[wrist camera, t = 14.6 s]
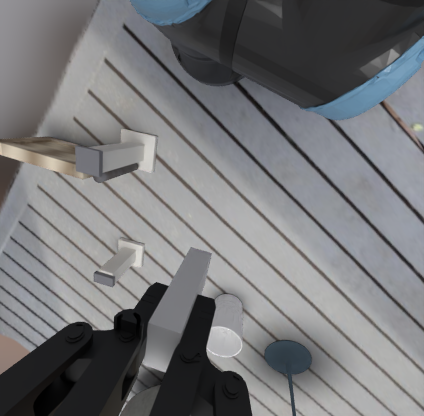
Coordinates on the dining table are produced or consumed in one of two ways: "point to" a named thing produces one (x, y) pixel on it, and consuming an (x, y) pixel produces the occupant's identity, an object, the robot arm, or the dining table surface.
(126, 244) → the latch post
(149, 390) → the ceramic pot
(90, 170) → the hinge post
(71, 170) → the gate
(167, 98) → the dining table surface
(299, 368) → the cocktail glass
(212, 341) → the white cup
